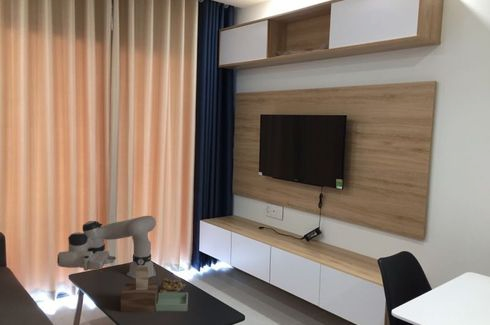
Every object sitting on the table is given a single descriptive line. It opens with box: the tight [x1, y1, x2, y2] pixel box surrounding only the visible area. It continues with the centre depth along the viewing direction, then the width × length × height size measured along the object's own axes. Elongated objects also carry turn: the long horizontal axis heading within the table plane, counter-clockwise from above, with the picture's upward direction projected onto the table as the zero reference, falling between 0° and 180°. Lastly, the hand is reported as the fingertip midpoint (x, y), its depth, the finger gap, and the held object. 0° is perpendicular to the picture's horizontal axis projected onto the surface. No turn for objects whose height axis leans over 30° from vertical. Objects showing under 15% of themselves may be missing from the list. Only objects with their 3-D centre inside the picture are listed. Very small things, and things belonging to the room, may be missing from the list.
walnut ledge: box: [120, 282, 159, 313], centre depth 233 cm, size 16×18×10 cm
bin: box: [155, 292, 189, 313], centre depth 236 cm, size 16×17×4 cm
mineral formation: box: [159, 277, 186, 293], centre depth 253 cm, size 8×13×15 cm
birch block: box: [135, 266, 149, 290], centre depth 232 cm, size 5×6×12 cm
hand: (114, 259), depth 230 cm, fingers open, 3 cm apart
